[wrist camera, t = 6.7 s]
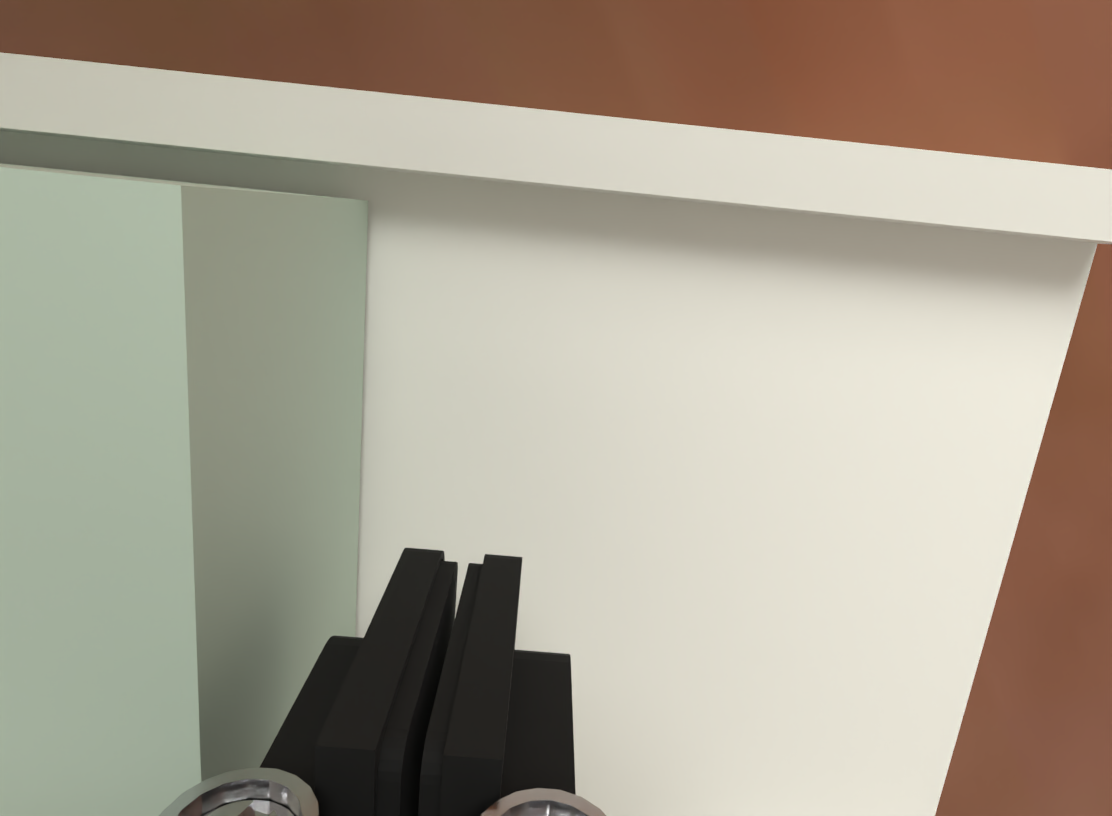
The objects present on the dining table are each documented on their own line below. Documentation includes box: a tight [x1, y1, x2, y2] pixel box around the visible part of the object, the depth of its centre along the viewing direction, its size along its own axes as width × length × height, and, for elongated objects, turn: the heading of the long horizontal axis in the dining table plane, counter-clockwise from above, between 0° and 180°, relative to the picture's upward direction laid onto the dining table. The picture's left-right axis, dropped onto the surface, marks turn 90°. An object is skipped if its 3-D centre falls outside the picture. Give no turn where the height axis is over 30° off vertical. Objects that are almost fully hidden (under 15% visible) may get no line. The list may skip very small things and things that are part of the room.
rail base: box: [0, 52, 1112, 816], centre depth 10 cm, size 15×28×10 cm, turn 84°
